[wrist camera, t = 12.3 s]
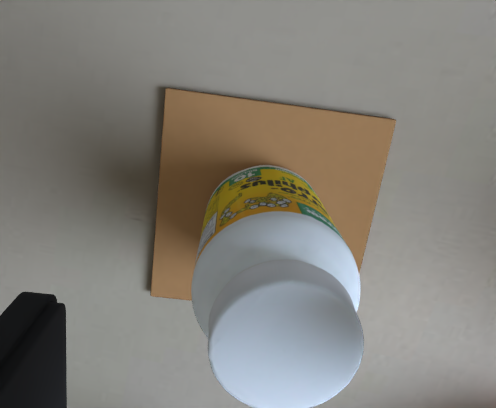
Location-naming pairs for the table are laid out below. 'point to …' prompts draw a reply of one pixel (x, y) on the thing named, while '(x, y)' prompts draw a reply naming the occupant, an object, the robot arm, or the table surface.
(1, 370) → the robot arm
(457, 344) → the table surface
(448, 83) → the table surface
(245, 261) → the supplement bottle
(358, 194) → the coaster
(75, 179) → the table surface
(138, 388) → the table surface
